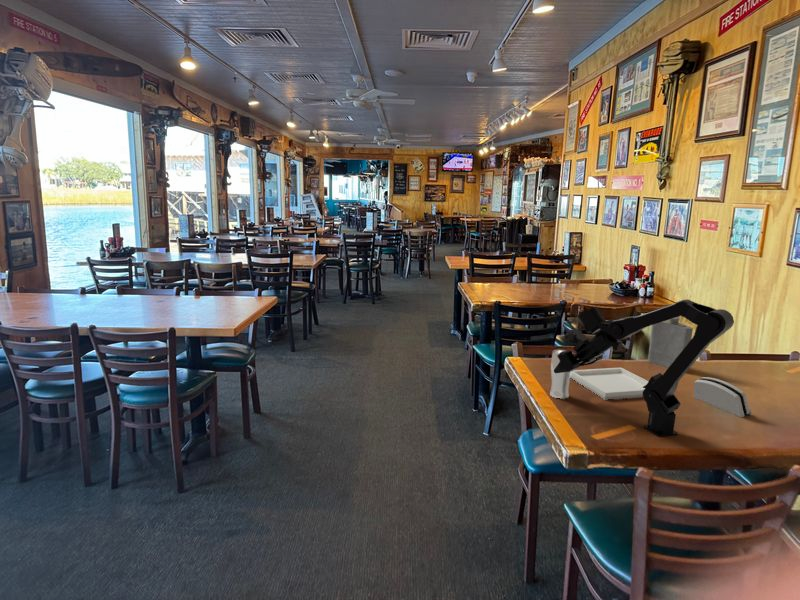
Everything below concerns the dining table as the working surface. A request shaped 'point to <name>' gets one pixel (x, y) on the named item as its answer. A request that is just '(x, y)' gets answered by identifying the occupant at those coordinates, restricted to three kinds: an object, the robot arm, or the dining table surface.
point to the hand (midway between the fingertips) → (562, 369)
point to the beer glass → (559, 378)
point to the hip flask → (668, 341)
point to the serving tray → (611, 382)
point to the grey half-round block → (721, 395)
